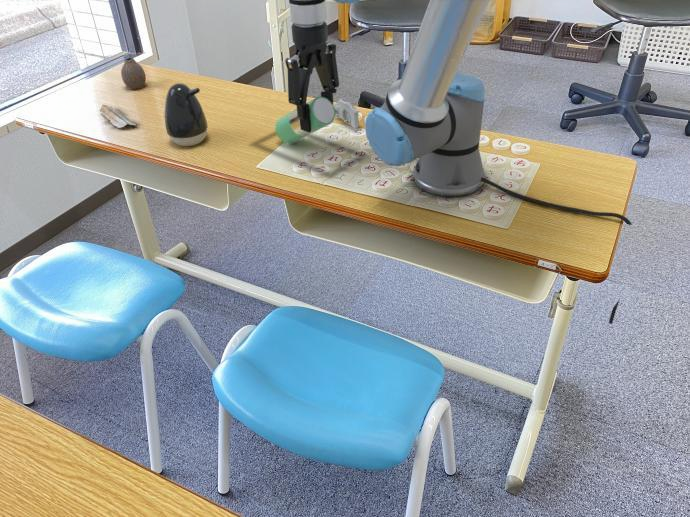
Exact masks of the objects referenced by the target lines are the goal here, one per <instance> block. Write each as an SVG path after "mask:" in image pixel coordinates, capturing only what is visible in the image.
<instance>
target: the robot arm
mask: <svg viewBox="0 0 690 517" xmlns="http://www.w3.org/2000/svg"><path fill="white" fill-rule="evenodd" d="M333 2H336V3H339V4H350V5H352V4H358V3H360V2H361V0H333ZM489 2H490V0H429V2H428V4H427V8H426V9H425V13H424V15H423V18H422V21H421V24H420V26H419V30H418V31H417V35H416V38H415V39H414V40H415V41H414V43H413V46H412V49H411V52H410V54H409V57H408V59H407V62H406V66H405V68H404V71H403V74H402V77H401V79H400V78H399V79H397V80H396V81H394V82H393V83H391V85H390V86H389V88H388V90H387V93H386V96H385V100H384V101H383V104H381V106H380V107H375V108H373V109H372V110H371V111H370V112H369V113H368V114H367V115H366V117H365V122H364V131H365V136H366V139H367V141H368V144H369V146H370V148H371V150H372V151H373V153H374V154H375V155H376V156H377V157H378V159H379V160H380V161H382V163H384V164H386V165H388V166H391V167H400V166H403V165H405V164H411V163H412V162H413V161H415V160H417V161H416V163H415V165H414V169H413V181H414V183H415V185H417V187H418V188H419V189H421V190H422V191H424V192H427V193H429V194H432V195H435V196H441V197H461V196H467V195H469V194H472V193H475V192H477V191H479V189H481V188H482V186H483V184H484V183H486V184H487V185H489V186H492V187H494V188H496V189H497V190H499V191H501V192H504V193H507V194H508V195H511V196H513V197H517V198H519V199H522V200H525V201H528V202H531V203H535V204H539V205H541V206H546V207H549V208H554V209H558V210H562V211H569V212H574V213H579V214H583V215H590V216H595V217H613V218H618V219H620V220H622V221H623V222H624V223H625V224H627V225H628V226H633V224H632V222H631V221H630V220H629V219H628V218H627V217H626V216H624V215H623V214H620V213H616V212H608V211H607V212H606V211H603V212H602V211H592V210H587V209H583V208H581V209H580V208H576V207H572V206H566V205H561V204H557V203H552V202H547V201H544V200H540V199H537V198H533V197H529V196H527V195H524V194H521V193H518V192H515V191H513V190H510V189H508V188H505V187H503V186H501V185H499V184H497V183H496V182H494V181H492V180H489V179H487V178H485V169H484V166H483V161H482V156H481V152H480V140H481V132H482V122H483V114H484V106H485V102H486V99H485V93H486V92H485V91H486V87H485V85H484V82H483V81H482V80H481V79H480V78H478V77H476V76H474V75H470V74H466V73H461V72H458V71H459V68H460V66H461V64H462V61H463V59H464V57H465V55H466V53H467V51H468V48H469V46H470V44H471V41H472V39H473V38H474V35H475V33H476V31H477V29H478V26H479V24H480V22H481V19H482V17H483V15H484V13H485V11H486V9H487V7H488V4H489ZM326 4H327V3H326V0H288V6H289V16H290V22H291V23H292V24H291V26H290V28H291V37H292V38H291V39H292V42H293V44H294V46H295V51H294V55H293V56H291V57H286V58H285V60H284V61H285V62H284V64H285V65H286V69H287V94H288V95H287V97H288V100H287V101H288V103H289V104H291V105H294V106H296V109H297V115H298V118H300V127H301V130H303V131H306V132H311V121H310V110H309V104H307V103H308V102H307V99H308V93H309V87H310V79H311V75H312V74H313V72H314V68H315V71H316V73H317V77H318V79H319V82H320V85H321V87H322V91H321V92H320V97H325V98H327V99H328V100H329V101H330V102H331V103H332V105H334V94H336V93H337V88H339V87H340V80H339V71H338V64H337V56H336V55H337V54H336V53H337V44H335V43H332V42H327V41H328V38H329V36H328V23H327V22H326V21H327V19H328V18H327V5H326ZM620 299H621V298H619V299H618V300H617V302H616V303H615V305H614V306H612V309H611V313H610V317H609V320H608V324H610V325H613V322H614V319H615V316H616V312H617V309H618V306H619V304H620Z"/></svg>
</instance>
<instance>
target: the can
mask: <svg viewBox="0 0 690 517" xmlns="http://www.w3.org/2000/svg"><path fill="white" fill-rule="evenodd" d="M306 103H307V104H309V110H310V121H311V132H306V131H303V130H301V127H300V118H298V115H297V108H296V109H294V110H292V111H291V112H289V113H287V114H285V115H284V116H282V117H280V118H279V119H277V121H276V122H275V127H274V128H275V129H274V130H275V133H276V136H277V138H278V139H279V140H280V141H281V142H283V143H285V144H293V143H295V142H297V141H299V140H301V139H304V138H305V137H308V136H310V135H312V134H313V133H316V132H317V131H319V130H321V129H324V128H325V127H327V126H329V125H331V124H333V122H334V121H335V119H336V118H335V117H336V114H335V110H334V106H333V105H334V104H333V105H332V103H331V102H330V101H329V100H328V99H327V98H325V97H321V96H317V97H314V98H313V99H311V100H310V101H308V102H306Z"/></svg>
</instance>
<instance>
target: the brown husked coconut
mask: <svg viewBox="0 0 690 517" xmlns="http://www.w3.org/2000/svg"><path fill="white" fill-rule="evenodd" d="M120 74H121V75H120V76H121V80H122V82H123V83H124V86H126V87H127V88H128V89H129V90H140V89H142V88H143V87H144V86H145V84H146V80H147V76H146V71H145V70H144V68H143V67H142V66H141V64H139V63H138V62H137V61H136V60H135V59H134V58H133V57H126V58H125V59H124V63H123V65H122V67H121V71H120Z"/></svg>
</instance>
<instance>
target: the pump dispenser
mask: <svg viewBox="0 0 690 517" xmlns="http://www.w3.org/2000/svg"><path fill="white" fill-rule="evenodd" d="M200 92H201V90H200V88H199V87H196V88H192V89H191V88H190V87H189V86H188V85H187V84H185V83H180V82H178V83H174V84H173V85H171V86H170V87H169V89H168V91H167V94H166V97H165V104H164V124H165V125H164V126H165V130H166V134H167V135H168V136H169V138H170V139H171V141H172V142H173V143H175V144H176V145H178V146H181V147H192V146H196V145H199V144H200V143H202V142H203V141H204V140H205V138H206V136H207V133H208V132H207V131H208V127H209V125H208V121H207V118H206V114H205V112H204V110H203V107H202V105H201V102H200V101H199V99H198V98H197V96H196V95H197V94H199V93H200Z"/></svg>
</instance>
